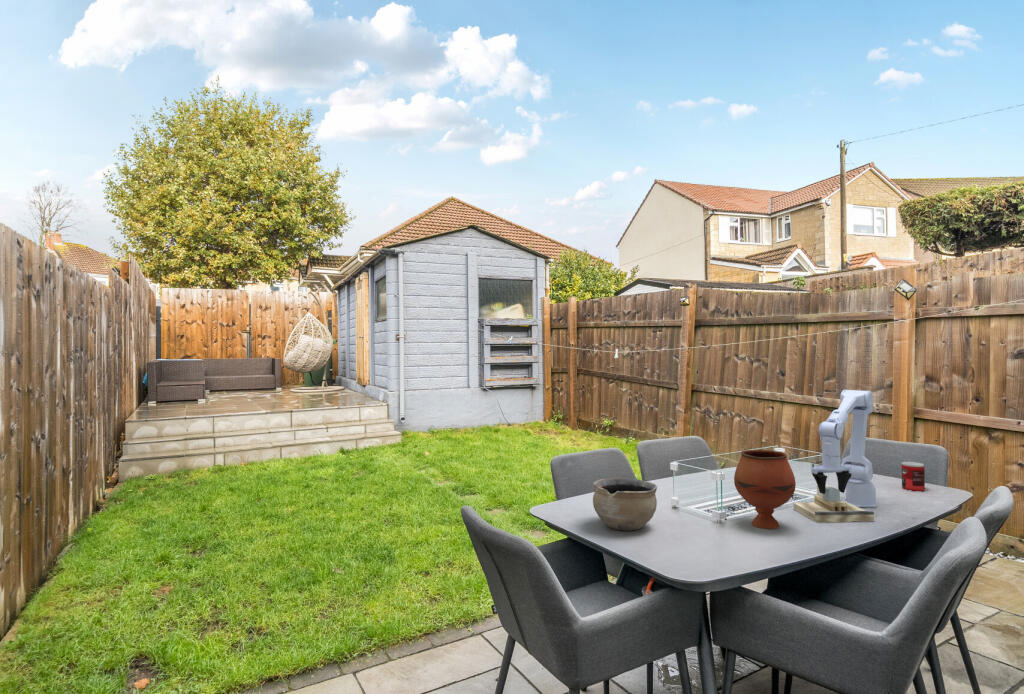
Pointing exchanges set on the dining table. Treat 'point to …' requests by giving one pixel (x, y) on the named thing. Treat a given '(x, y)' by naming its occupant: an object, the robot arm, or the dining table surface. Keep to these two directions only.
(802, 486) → the dining table surface
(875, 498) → the robot arm
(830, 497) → the pale grey cube
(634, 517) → the ceramic bowl
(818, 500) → the pallet
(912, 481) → the canned food
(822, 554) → the dining table surface
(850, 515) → the dock
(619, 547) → the dining table surface
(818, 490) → the cream cube
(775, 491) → the goblet
